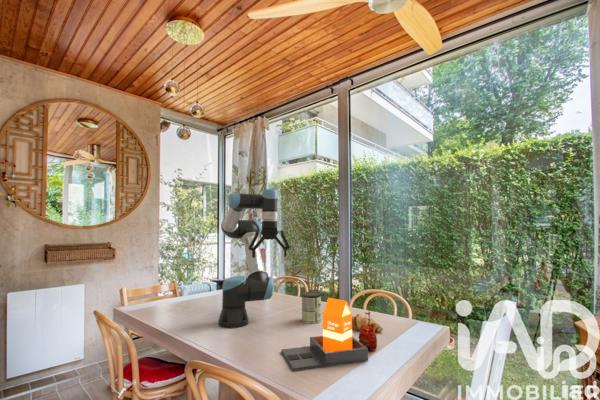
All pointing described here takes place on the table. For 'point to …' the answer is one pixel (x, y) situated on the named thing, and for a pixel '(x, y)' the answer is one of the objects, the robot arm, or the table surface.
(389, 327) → the table surface
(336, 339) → the orange juice
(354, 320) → the croissant
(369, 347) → the red clay folk toy
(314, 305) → the coffee can
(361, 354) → the tray
